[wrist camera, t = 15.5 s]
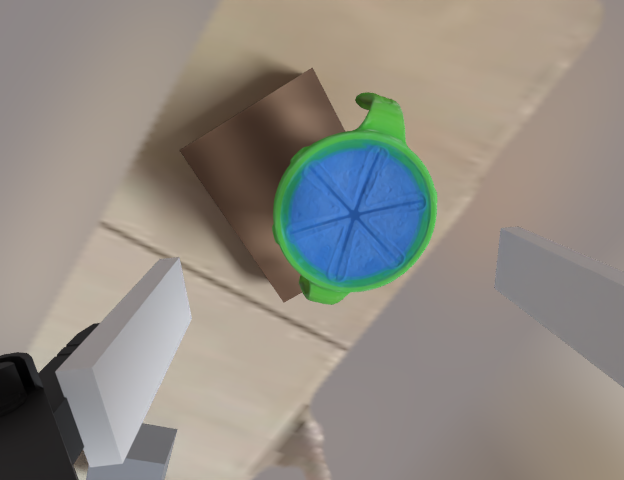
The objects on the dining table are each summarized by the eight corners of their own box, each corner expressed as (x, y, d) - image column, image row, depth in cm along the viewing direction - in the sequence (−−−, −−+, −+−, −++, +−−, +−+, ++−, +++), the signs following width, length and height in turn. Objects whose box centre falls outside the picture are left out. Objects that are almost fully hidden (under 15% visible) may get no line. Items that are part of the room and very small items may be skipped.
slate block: (103, 464, 45) (82, 503, 41) (112, 416, 43) (90, 452, 38) (166, 473, 47) (152, 513, 42) (177, 428, 44) (164, 464, 40)
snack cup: (349, 284, 34) (376, 344, 25) (247, 247, 32) (234, 296, 23) (423, 132, 31) (490, 133, 21) (314, 79, 29) (332, 52, 19)
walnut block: (283, 281, 39) (283, 302, 35) (193, 146, 34) (179, 150, 30) (385, 224, 38) (399, 238, 34) (308, 75, 33) (312, 67, 28)
